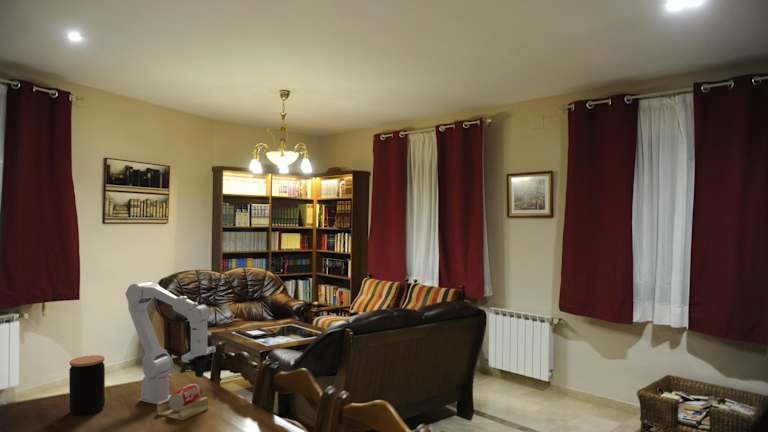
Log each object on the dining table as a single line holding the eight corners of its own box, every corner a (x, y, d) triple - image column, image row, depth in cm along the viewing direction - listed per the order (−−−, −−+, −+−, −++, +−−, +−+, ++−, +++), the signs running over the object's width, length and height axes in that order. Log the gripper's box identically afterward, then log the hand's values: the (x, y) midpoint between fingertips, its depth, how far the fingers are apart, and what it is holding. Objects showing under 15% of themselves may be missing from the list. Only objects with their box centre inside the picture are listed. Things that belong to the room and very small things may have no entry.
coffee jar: (111, 407, 180) (111, 357, 180) (82, 418, 171) (82, 365, 171) (91, 403, 185) (91, 353, 185) (62, 413, 175) (62, 361, 175)
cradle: (156, 414, 174) (156, 403, 174) (183, 402, 185) (183, 392, 185) (182, 420, 169) (182, 408, 169) (208, 408, 180) (208, 397, 180)
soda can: (207, 395, 184) (189, 406, 172) (192, 406, 184) (173, 417, 173) (197, 378, 185) (178, 388, 173) (182, 389, 185) (162, 399, 174)
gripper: (191, 345, 175) (192, 384, 175) (221, 335, 189) (222, 372, 189) (177, 342, 178) (177, 381, 178) (207, 333, 192) (207, 369, 192)
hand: (199, 376), depth 184 cm, fingers closed
